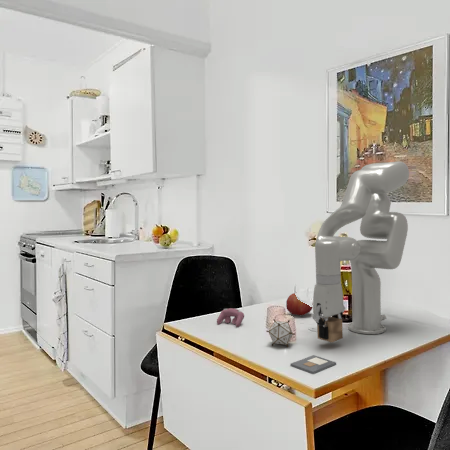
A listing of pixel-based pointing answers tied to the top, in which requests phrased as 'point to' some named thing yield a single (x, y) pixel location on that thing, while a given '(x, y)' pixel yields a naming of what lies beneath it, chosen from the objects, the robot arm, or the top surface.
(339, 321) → the walnut block
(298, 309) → the fruit
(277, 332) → the game die
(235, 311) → the video game controller
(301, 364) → the card
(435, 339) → the top surface
